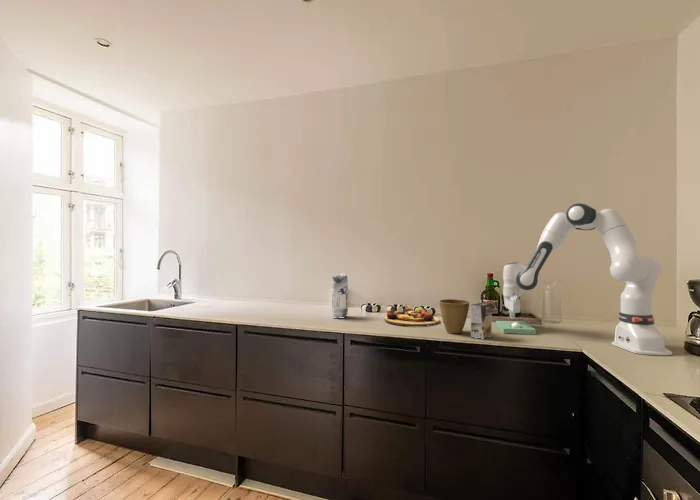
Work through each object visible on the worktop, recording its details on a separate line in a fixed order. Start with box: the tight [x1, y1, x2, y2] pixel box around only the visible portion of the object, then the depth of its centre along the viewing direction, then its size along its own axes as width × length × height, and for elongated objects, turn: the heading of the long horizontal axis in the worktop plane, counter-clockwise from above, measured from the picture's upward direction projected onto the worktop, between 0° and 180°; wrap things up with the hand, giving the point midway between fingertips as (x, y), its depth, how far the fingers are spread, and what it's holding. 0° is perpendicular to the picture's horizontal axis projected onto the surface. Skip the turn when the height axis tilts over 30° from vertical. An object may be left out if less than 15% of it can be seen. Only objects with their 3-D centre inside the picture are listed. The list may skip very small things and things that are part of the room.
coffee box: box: [470, 302, 493, 339], centre depth 188 cm, size 9×6×16 cm
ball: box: [511, 322, 521, 328], centre depth 199 cm, size 4×4×4 cm
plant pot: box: [439, 298, 470, 334], centre depth 198 cm, size 15×15×16 cm
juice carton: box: [331, 273, 349, 318], centre depth 240 cm, size 9×10×27 cm
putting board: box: [495, 320, 537, 335], centre depth 203 cm, size 20×15×2 cm
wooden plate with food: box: [383, 305, 440, 327], centre depth 227 cm, size 32×32×8 cm
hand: (512, 318), depth 209 cm, fingers closed
